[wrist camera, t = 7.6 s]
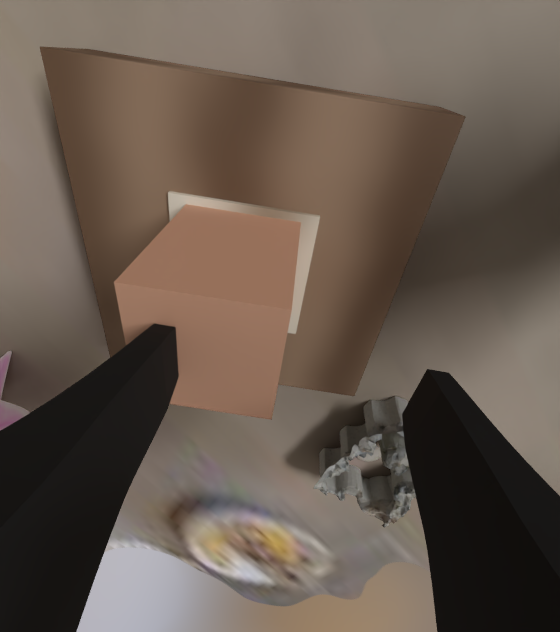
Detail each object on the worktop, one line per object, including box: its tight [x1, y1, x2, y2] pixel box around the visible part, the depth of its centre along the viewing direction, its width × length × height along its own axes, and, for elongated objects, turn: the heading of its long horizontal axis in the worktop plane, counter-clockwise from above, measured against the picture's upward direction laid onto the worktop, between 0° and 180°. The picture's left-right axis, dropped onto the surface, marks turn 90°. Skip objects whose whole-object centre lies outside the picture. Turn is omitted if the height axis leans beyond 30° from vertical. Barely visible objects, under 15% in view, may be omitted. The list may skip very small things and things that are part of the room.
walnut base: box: [40, 47, 465, 396], centre depth 17 cm, size 14×14×3 cm
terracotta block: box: [114, 204, 301, 420], centre depth 13 cm, size 5×5×6 cm
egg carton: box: [314, 396, 416, 527], centre depth 26 cm, size 11×8×4 cm
